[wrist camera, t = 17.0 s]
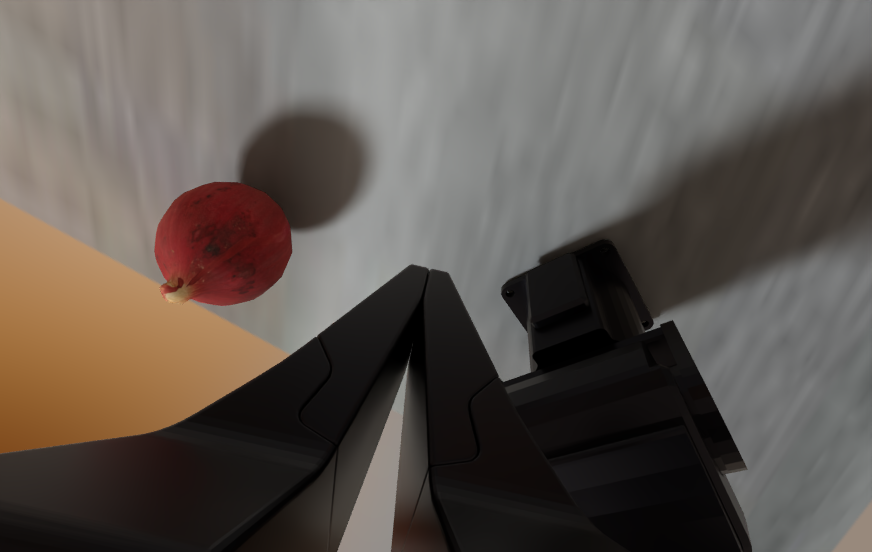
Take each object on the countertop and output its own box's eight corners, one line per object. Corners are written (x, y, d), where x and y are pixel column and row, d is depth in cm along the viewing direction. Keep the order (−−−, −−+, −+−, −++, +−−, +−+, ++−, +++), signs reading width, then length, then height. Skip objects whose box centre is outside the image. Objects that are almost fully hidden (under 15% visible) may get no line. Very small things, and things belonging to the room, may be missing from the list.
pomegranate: (248, 135, 22) (140, 203, 15) (334, 216, 24) (271, 308, 17) (192, 202, 24) (79, 285, 18) (274, 270, 26) (199, 367, 20)
